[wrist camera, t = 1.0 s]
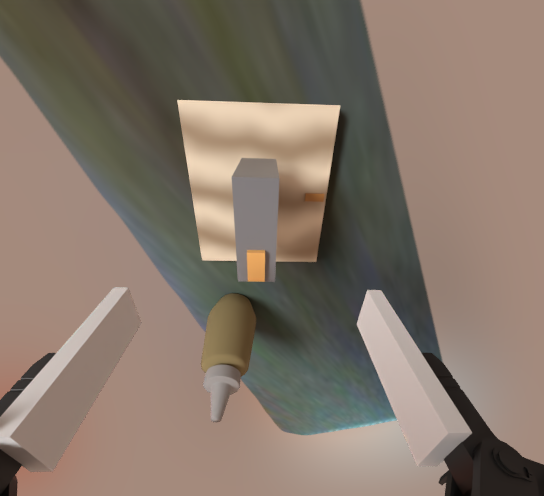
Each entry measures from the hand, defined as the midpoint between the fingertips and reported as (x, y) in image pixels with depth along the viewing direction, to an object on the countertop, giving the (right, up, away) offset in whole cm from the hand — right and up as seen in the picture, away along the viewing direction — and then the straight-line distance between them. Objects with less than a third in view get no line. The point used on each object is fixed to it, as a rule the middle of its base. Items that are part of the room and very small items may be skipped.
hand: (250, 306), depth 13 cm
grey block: (0, +8, +14) cm, 16 cm away
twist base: (0, +11, +18) cm, 21 cm away
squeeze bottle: (-5, -7, +29) cm, 30 cm away
